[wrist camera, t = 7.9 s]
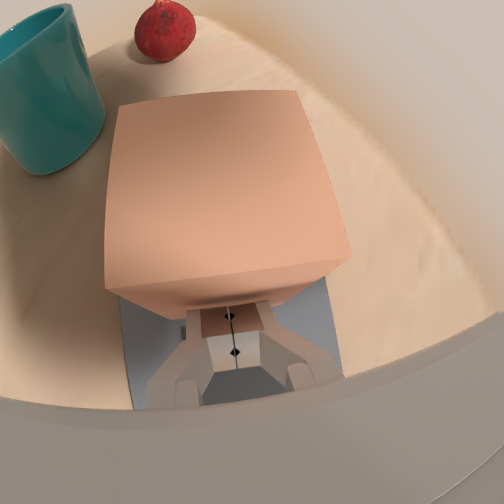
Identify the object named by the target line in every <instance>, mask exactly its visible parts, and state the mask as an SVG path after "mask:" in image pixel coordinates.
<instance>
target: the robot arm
mask: <svg viewBox="0 0 504 504" xmlns="http://www.w3.org/2000/svg"><path fill="white" fill-rule="evenodd" d="M228 312H229V317H228ZM229 318H230V321H229ZM233 348H234V349H233ZM234 350H235V355H234ZM235 357H236V361H237V366H238V368H246V367H253V366H260V365H261V367H262V368H263V369H264V370H266V371H267V372H268V373H269V374H270V375H271V376H272V377H274V378H275V379H276V380H277V381H278V382H280V383H281V384H282V385H283V386H284V387H285V393H282V394H277V395H272V396H267V397H261V398H256V399H250V400H243V401H237V402H230V403H223V404H214V405H206V406H204V403H203V400H202V395H203V393H204V391H205V389H206V387H207V386H208V384H209V382H210V380H211V378H212V376H213V375H214V372H220V371H226V370H232V369H236V362H235ZM0 504H504V312H497V313H495V314H493V315H491V316H489V317H488V318H486V319H484V320H482V321H481V322H479V323H477V324H475V325H473V326H471V327H469V328H468V329H466V330H464V331H462V332H460V333H458V334H456V335H454V336H452V337H449V338H447V339H445V340H443V341H441V342H439V343H437V344H434V345H432V346H430V347H428V348H425V349H423V350H421V351H418V352H416V353H413V354H411V355H408V356H406V357H403V358H401V359H398V360H396V361H393V362H390V363H387V364H385V365H382V366H379V367H376V368H373V369H370V370H367V371H364V372H361V373H358V374H355V375H352V376H348V377H344V375H343V373H342V371H341V369H340V368H339V366H338V364H337V362H336V360H335V358H334V356H333V355H332V354H331V353H329V352H327V351H326V350H324V349H322V348H320V347H318V346H317V345H315V344H313V343H311V342H309V341H308V340H306V339H304V338H302V337H301V336H299V335H297V334H295V333H294V332H292V331H290V330H289V329H287V328H285V327H283V326H282V327H279V325H278V322H277V320H276V317H275V315H274V313H273V310H272V308H271V305H270V303H269V301H268V300H262V301H256V302H252V303H246V304H239V305H232V306H228V310H227V306H222V307H213V308H203V309H195V310H187V311H186V340H183V341H182V342H181V343H180V344H179V345H178V346H177V347H176V349H175V350H174V351H173V352H172V353H171V355H170V356H169V357H168V358H167V359H166V360H165V362H164V363H163V364H162V365H161V366H160V368H159V369H158V370H157V371H156V372H155V373H154V375H153V376H152V377H151V378H150V379H149V381H148V382H147V392H146V406H145V409H142V410H116V409H90V408H76V407H65V406H56V405H47V404H40V403H33V402H27V401H22V400H16V399H11V398H6V397H1V396H0Z"/></svg>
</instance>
